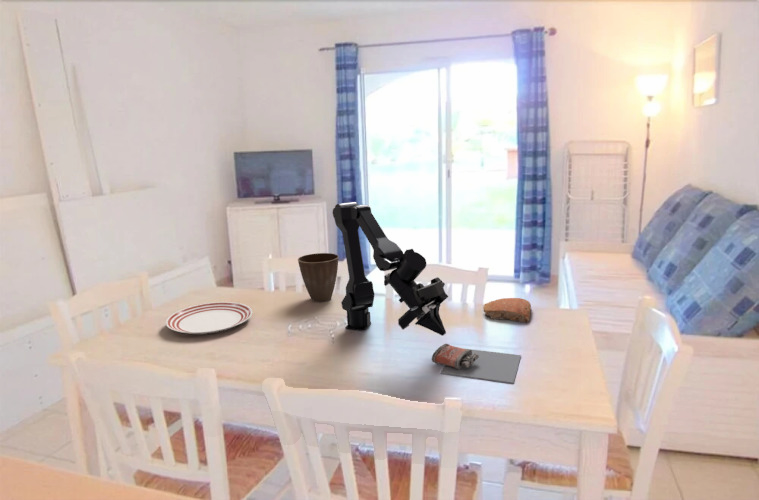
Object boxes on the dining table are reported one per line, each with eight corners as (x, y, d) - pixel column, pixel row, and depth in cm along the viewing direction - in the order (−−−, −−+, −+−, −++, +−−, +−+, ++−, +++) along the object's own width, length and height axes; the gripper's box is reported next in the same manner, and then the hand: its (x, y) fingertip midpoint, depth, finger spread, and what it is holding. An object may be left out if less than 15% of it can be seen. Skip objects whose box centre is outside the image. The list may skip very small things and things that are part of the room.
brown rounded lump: (488, 290, 176) (532, 299, 172) (484, 308, 177) (529, 318, 173) (483, 298, 162) (531, 308, 158) (479, 318, 163) (527, 328, 159)
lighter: (432, 365, 133) (466, 374, 127) (431, 353, 132) (466, 362, 126) (447, 352, 139) (481, 360, 133) (447, 340, 138) (480, 349, 132)
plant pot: (293, 303, 186) (290, 261, 183) (312, 291, 200) (309, 252, 196) (330, 306, 181) (327, 263, 178) (347, 294, 195) (345, 253, 191)
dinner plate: (269, 320, 171) (268, 311, 170) (195, 348, 151) (194, 337, 150) (223, 305, 188) (222, 296, 188) (151, 328, 168) (149, 318, 167)
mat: (440, 373, 128) (440, 372, 128) (454, 348, 142) (454, 347, 142) (513, 383, 121) (513, 382, 121) (520, 356, 136) (520, 355, 136)
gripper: (407, 279, 125) (448, 329, 121) (441, 262, 140) (478, 306, 136) (381, 305, 131) (420, 353, 127) (417, 286, 146) (452, 328, 142)
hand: (444, 334), depth 133 cm, fingers closed
